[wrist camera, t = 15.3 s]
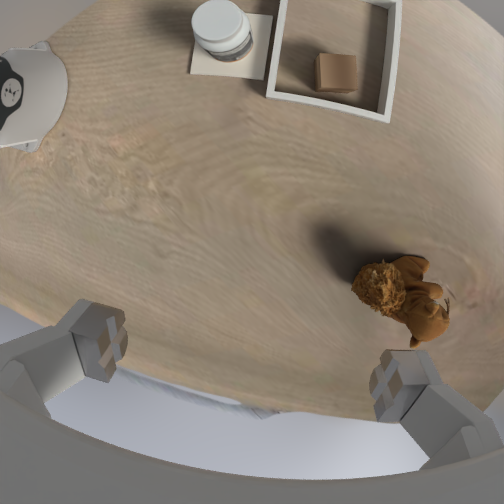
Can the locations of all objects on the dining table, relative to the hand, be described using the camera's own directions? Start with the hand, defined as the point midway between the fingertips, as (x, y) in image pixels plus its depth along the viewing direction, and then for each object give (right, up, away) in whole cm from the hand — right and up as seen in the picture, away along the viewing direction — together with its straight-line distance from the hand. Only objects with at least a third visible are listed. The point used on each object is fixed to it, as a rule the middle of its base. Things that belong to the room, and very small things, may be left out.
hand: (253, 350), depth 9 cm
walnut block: (+10, +24, +23) cm, 34 cm away
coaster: (-2, +28, +22) cm, 36 cm away
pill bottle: (-3, +28, +21) cm, 35 cm away
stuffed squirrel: (+20, -1, +33) cm, 39 cm away
